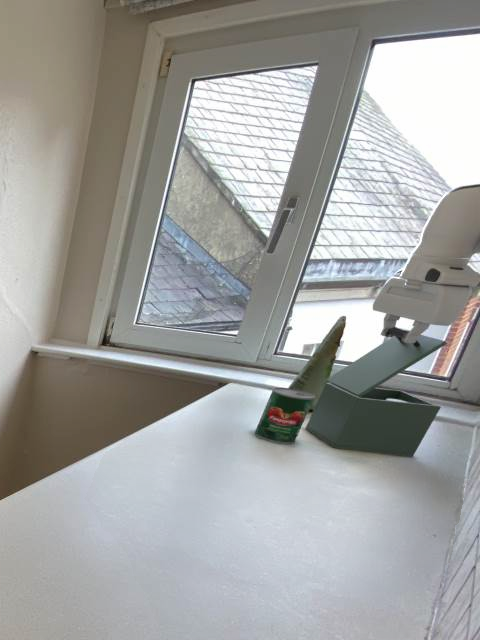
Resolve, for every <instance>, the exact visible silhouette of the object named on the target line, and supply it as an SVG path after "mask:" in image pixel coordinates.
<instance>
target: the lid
mask: <svg viewBox="0 0 480 640" xmlns="http://www.w3.org/2000/svg"><path fill="white" fill-rule="evenodd" d="M410 330H411V329H405V328H403V327H399V326H395V327H392V328H391V329H390V330H389V334H390V335H393V337H389V338H388V339H386V340H385V341H384V342H383V343H381V344H379V345H378V346H376V347H375V348H373V349H371V350H370V351H368V352H367V353H366V354H364V355H362V356H361V357H359V358H358V359H356V360H355V361H353V362H352V363H350V364H348V365H347V366H345V367H344V368H342V369H340V370H339V371H337V372H336V373H334V374H333V375H330V377H329V378H328V379H327V381H328V382H329V383H331V384H333V385H335V386H337V387H340V388H342V389H344V390H346V391H348V392H350V393H352V394H354V395H356V396H358V397H361V396H363V395H365V394H366V393H368V392H369V391H371V390H373V389H374V388H379V386H381V385H383V384H384V383H386V382H388V381H389V380H390V379H392V378H394V377H395V376H397V375H399V374H401V373H402V372H404V371H405V370H407V369H409V368H410V367H411V366H414V365H415V364H417V363H418V362H421V360H423V359H425V358H426V357H428V356H430V355H431V354H433V353H435V352H436V351H438V350H440V349H441V348H443V347H445V346H446V345H447V344H448V343H447V341H446V340H442V339H438V338H435V337H431V336H428V335H424V334H421V335H419V337H418V339H417V340H416V342H415V343H414V344H410V343H405V342H402V341H401V340H402V338H403V336H404V334H405V333H407V334H408V332H409V331H410Z"/></svg>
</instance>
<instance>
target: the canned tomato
mask: <svg viewBox="0 0 480 640" xmlns="http://www.w3.org/2000/svg"><path fill="white" fill-rule="evenodd" d="M314 399H315V396H314V395H313V394H310V393H308V392H304V391H300V390H295V389H289V388H288V387H274V388H273V389H272V390H271V393H270V394H269V398H268V400H267V402H266V405H265V407H264V409H263V412H262V414H261V417H260V418H259V422H258V424H257V426H256V428H255V431H254V433H253V434H254V436H256V437H258V438H259V439H261V440H265V441H267V442H271V443H276V444H283V445H291V444H294V443H296V439H297V437H298V436H299V433H300V431H301V429H302V427H303V425H304V422H305V420H306V419H307V416H308V414H309V412H310V407H311V405H312V403H313V401H314Z"/></svg>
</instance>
